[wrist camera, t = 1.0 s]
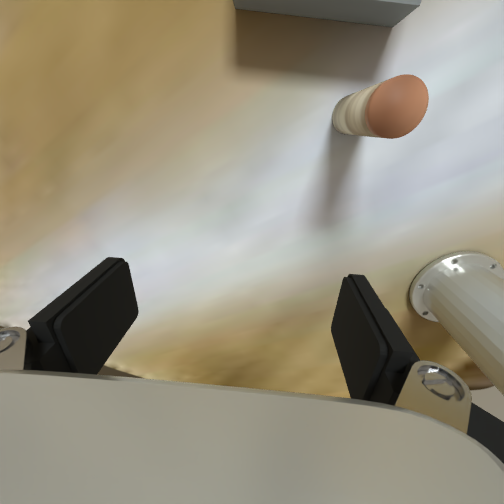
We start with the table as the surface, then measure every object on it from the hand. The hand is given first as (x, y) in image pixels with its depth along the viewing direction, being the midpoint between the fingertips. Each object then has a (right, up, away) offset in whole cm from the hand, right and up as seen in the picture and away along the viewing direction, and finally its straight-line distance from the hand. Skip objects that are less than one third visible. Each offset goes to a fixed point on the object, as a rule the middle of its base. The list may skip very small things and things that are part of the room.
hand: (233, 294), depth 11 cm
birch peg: (+12, +18, +18) cm, 28 cm away
